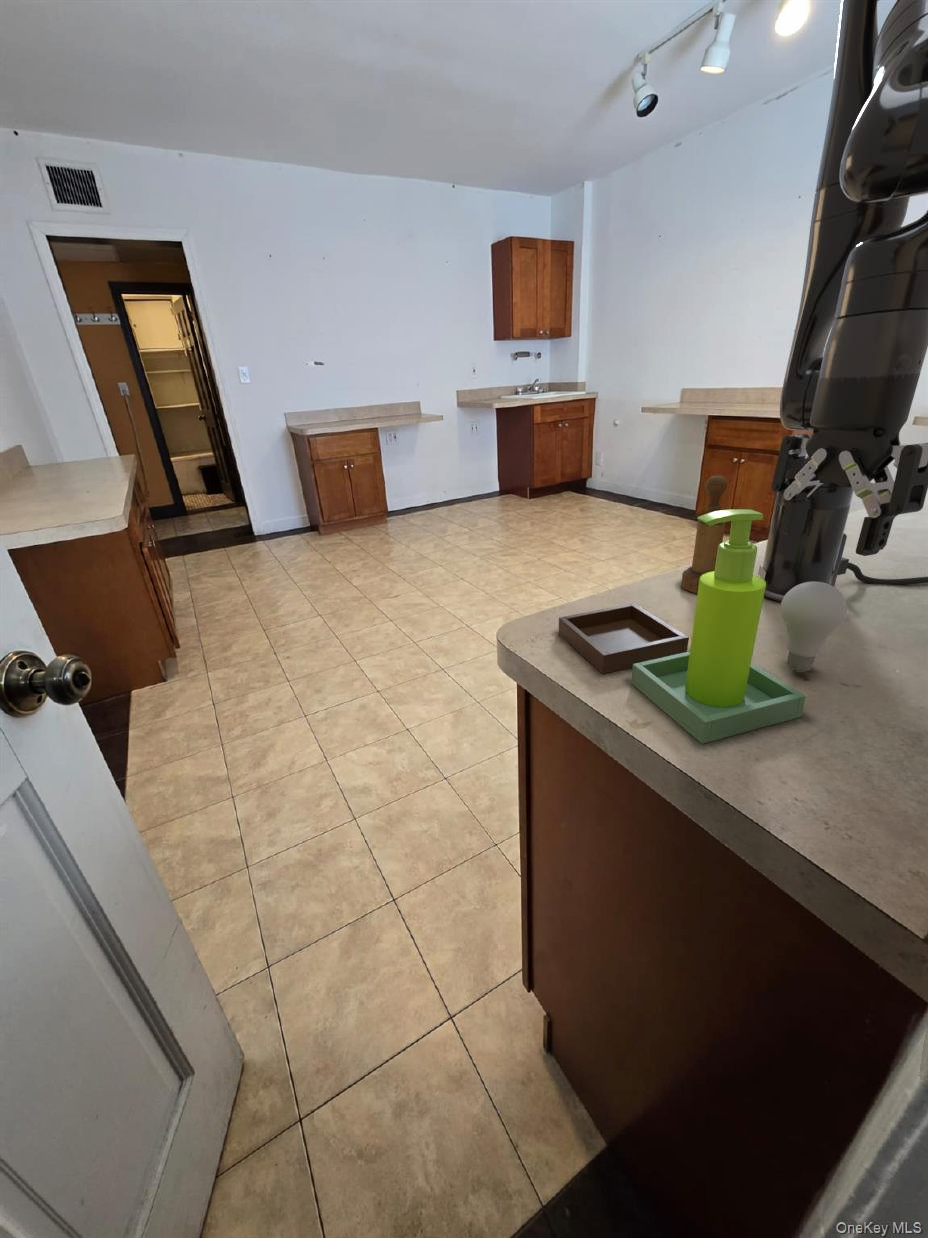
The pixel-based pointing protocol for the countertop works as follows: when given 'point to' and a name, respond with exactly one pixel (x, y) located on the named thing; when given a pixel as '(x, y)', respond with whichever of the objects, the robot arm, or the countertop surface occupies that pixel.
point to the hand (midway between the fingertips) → (826, 543)
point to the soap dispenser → (726, 616)
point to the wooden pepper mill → (706, 538)
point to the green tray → (709, 723)
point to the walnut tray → (621, 637)
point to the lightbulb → (810, 620)
